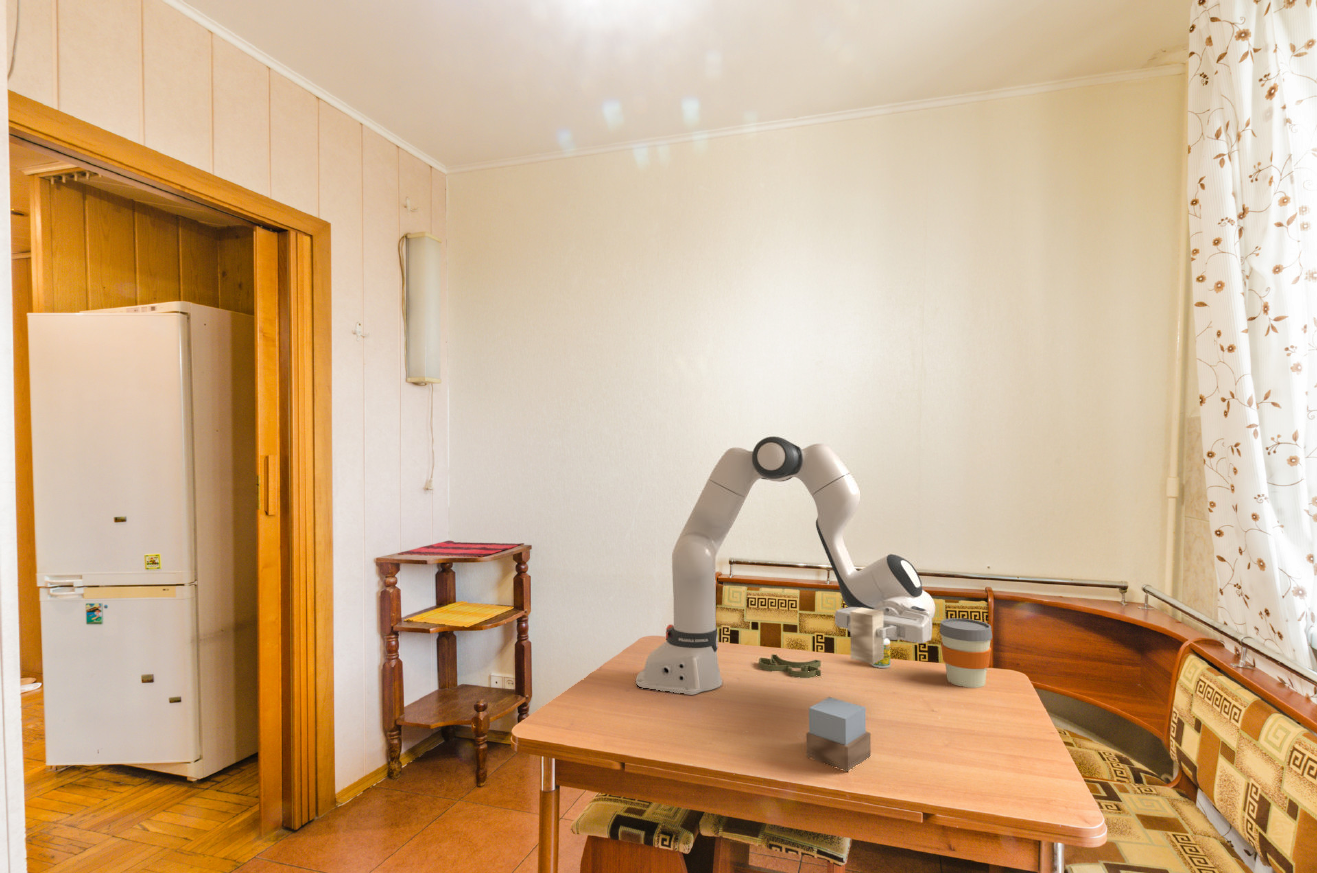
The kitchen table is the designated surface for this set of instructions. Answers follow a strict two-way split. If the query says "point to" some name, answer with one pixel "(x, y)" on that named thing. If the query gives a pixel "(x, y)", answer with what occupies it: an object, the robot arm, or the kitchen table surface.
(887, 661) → the supplement bottle
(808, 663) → the cookie cutter
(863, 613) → the cream pillar block
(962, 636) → the reusable coffee cup
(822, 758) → the walnut base block
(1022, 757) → the kitchen table surface
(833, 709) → the slate-blue top block
